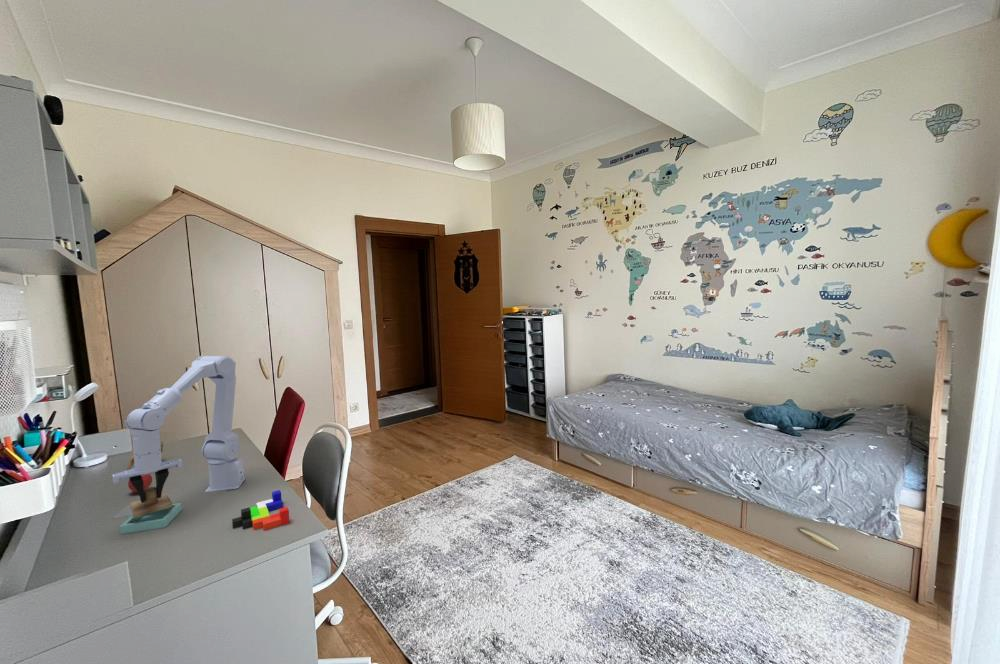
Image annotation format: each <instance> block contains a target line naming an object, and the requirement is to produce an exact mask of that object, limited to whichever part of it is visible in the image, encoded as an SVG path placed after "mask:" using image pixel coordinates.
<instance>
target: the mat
mask: <svg viewBox="0 0 1000 664" xmlns="http://www.w3.org/2000/svg"><path fill="white" fill-rule="evenodd" d="M132 515H133V513H132V510H131V507H130V503H128V504H127V505H126V506H125V507H124V508H123V509H121V510H120V511H119V512H118V513H117V514H115V515H114V516H113V517H112V519H118V518H125V517H126V518H128V517H131V516H132Z"/></svg>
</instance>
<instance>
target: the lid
mask: <svg viewBox="0 0 1000 664" xmlns="http://www.w3.org/2000/svg"><path fill="white" fill-rule="evenodd" d="M144 496H145V502H143V503H142V502H141V500H135V501H133V502H129V504H130V507H131V510H132V513H133V516H134V518H136V517H139V516H142V515H146V514H149V513H152V512H156V511H159V510H163V509H166V508H169V507H172V504H173V503H172V501H171V499H170V497H169V495H168V493H166V492H164V493H161V498H157V488H156V486H151V487H150V486H149V487H148V488H147V489H145V490H144Z"/></svg>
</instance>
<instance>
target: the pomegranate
mask: <svg viewBox="0 0 1000 664" xmlns="http://www.w3.org/2000/svg"><path fill="white" fill-rule="evenodd" d="M142 479H143V488H144V490H145V489H147V488H150V486H151V485H152V483H153V477H152V475H151V474H147V475H143V476H142ZM127 486H128V489H129V490H130V491H132V492H134V493H138V491H137V490H136V488H135V487H134V486H133V485H132V483H131V482H130V480H129V479H128V482H127Z"/></svg>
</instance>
